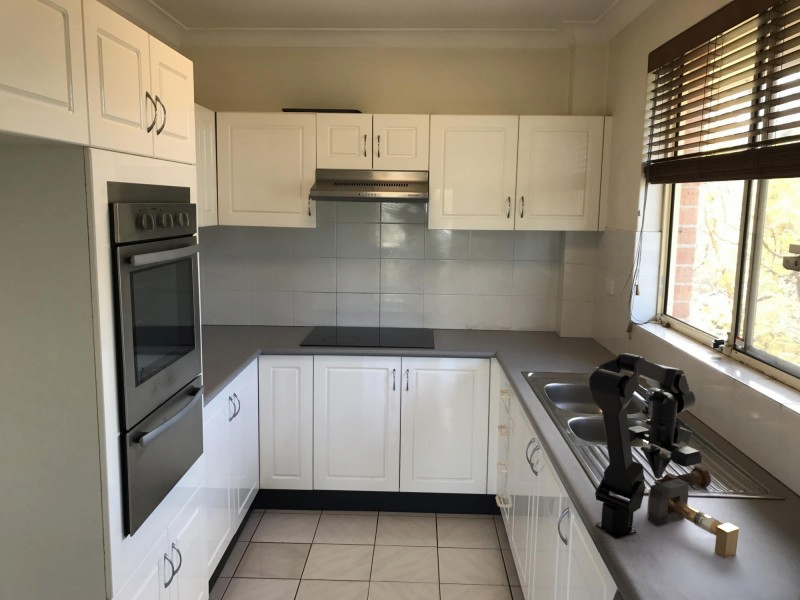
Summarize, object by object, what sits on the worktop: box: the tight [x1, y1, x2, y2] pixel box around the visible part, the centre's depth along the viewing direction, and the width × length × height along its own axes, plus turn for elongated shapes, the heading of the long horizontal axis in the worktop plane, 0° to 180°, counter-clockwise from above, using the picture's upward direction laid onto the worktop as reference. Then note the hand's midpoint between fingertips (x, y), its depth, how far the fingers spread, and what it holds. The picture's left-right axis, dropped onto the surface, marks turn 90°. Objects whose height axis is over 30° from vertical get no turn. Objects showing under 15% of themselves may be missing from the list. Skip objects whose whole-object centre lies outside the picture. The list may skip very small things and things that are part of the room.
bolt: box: [653, 465, 712, 489], centre depth 158 cm, size 6×5×15 cm
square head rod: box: [646, 489, 740, 560], centre depth 136 cm, size 20×4×6 cm, turn 26°
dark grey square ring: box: [647, 479, 690, 527], centre depth 141 cm, size 3×9×9 cm, turn 116°
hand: (657, 478), depth 148 cm, fingers closed
